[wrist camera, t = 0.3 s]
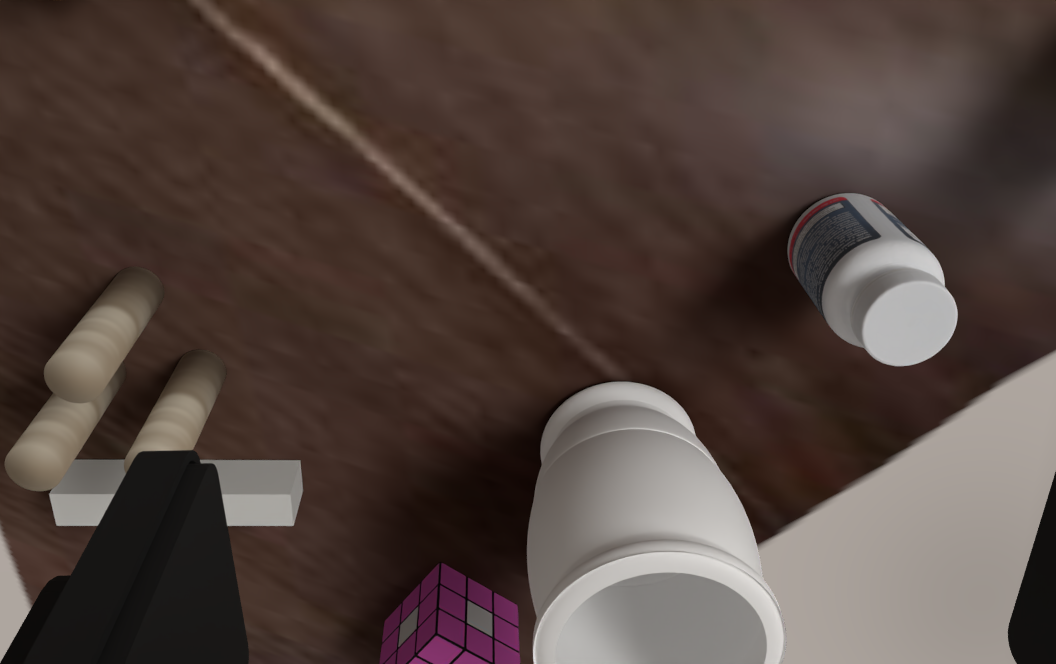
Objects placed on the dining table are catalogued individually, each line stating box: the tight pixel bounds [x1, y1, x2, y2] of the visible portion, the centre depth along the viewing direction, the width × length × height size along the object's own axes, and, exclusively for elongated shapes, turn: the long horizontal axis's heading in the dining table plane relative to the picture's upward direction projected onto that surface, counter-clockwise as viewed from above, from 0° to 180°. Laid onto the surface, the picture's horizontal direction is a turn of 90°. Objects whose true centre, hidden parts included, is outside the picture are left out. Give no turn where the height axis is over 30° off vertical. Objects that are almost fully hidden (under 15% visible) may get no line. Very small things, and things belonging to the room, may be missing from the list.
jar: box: [527, 382, 786, 664], centre depth 47 cm, size 11×10×15 cm
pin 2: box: [124, 350, 226, 473], centre depth 46 cm, size 2×2×8 cm
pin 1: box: [5, 362, 126, 491], centre depth 46 cm, size 2×2×8 cm
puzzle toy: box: [379, 562, 520, 664], centre depth 56 cm, size 6×6×6 cm
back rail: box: [49, 460, 303, 526], centre depth 52 cm, size 2×12×3 cm, turn 88°
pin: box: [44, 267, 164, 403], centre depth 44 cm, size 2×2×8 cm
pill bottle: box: [787, 193, 957, 366], centre depth 44 cm, size 5×5×9 cm
